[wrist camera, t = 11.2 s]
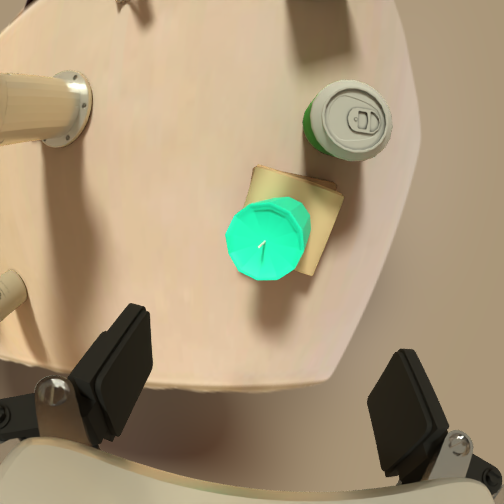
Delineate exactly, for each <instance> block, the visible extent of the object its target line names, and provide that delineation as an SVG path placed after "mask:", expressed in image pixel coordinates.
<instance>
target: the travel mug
mask: <svg viewBox="0 0 504 504" xmlns="http://www.w3.org/2000/svg"><path fill="white" fill-rule="evenodd" d="M26 298H27V292H26V288H25V285H24V283H23V281H22V279H21V278H20V276H19V275H18V274H17V273H16V272H15V271H13V270H8V271H7V272H5V273H4V274H2V275H1V276H0V322H1V321H2V320H3V319H4V318H5V317H6V316H8V315H9V314H10V313H11V312H12V311H14V310H15V309H16V308H17V307H18V306H20V305H21V304H22V303H23V302H24V301H25V300H26Z"/></svg>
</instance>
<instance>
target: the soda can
mask: <svg viewBox="0 0 504 504" xmlns="http://www.w3.org/2000/svg"><path fill="white" fill-rule="evenodd" d="M302 123H303V131H304V134H305V136H306V138H307V140H308V142H309V143H310V144H311V145H312V146H313V147H314V148H315V149H317V150H318V151H320V152H321V153H324V154H327V155H330V156H334V157H337V158H340V159H344V160H347V161H364V160H367V159H370V158H372V157H375V156H376V155H377V154H378V153H380V152H381V151H382V150H383V149H384V148H385V146H386V145H387V143H388V141H389V140H390V136H391V132H392V127H393V126H392V116H391V112H390V110H389V107H388V105H387V102H386V101H385V100H384V99H383V97H382V96H381V95H380V94H379V92H378V91H376V90H375V89H373V88H372V87H371V86H369V85H368V84H365V83H362V82H359V81H356V80H340V81H337V82H334V83H331V84H329V85H327V86H326V87H325V88H324V89H322V90H321V91H320V92H319V93H318V94H317V96H316V97H315V98H314V99H313V101H312V102H311V103H310V105H309V106H308V108H307V109H306V111H305V113H304V117H303V122H302Z"/></svg>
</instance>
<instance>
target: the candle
mask: <svg viewBox="0 0 504 504" xmlns="http://www.w3.org/2000/svg"><path fill="white" fill-rule="evenodd" d="M310 232H311V220H310V214H309V213H308V211H307V210H306V208H305V207H304V205H303V204H302V203H301V202H299V201H297V200H295V199H293V198H290V197H277V198H271V199H267V200H263V201H259V202H255V203H251V204H249V205H247V206H246V207H245V208H243V209H242V210H241V211H239V212H238V213H237V214H236V215H234V217H233V219H232V221H231V223H230V226H229V228H228V230H227V232H226V234H225V236H226V242H227V247H228V253H229V255H230V257H231V259H232V260H233V262H234V264H235V266H236V267H237V269H238V271H239V272H241V273H243V274H245V275H247V276H249V277H251V278H253V279H255V280H278V279H280V278H281V277H283V276H284V275H286V274H288V273H289V272H291V271H292V270H294V269H295V268H296V266H297V264H298V262H299V260H300V258H301V256H302V254H303V252H304V250H305V247H306V244H307V241H308V238H309V235H310Z"/></svg>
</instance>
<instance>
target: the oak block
mask: <svg viewBox="0 0 504 504" xmlns="http://www.w3.org/2000/svg"><path fill="white" fill-rule="evenodd" d="M277 197H290V198H293V199H295V200H297V201H299V202H301V203H302V204H303V205H304V207H305V208H306V210H307V211H308V213H309V214H310V220H311V232H310V235H309V238H308V241H307V244H306V247H305V250H304V252H303V254H302V256H301V258H300V260H299V262H298V264H297V266H296V268H295V269H294V271H297V272H301V273H304V274H307V275H310V276H313V274H314V271H315V269H316V267H317V264H318V262H319V259H320V257H321V255H322V252H323V250H324V247H325V245H326V243H327V240H328V238H329V235H330V233H331V230H332V228H333V225H334V223H335V220H336V218H337V215H338V212H339V210H340V207H341V205H342V202H343V199H344V196H343V195H342V194H341V193H340V192H338V191H335V190H333V189H330V188H327V187H324V186H322V185H319V184H316V183H313V182H311V181H308V180H305V179H302V178H299V177H296V176H293V175H290V174H287V173H284V172H281V171H278V170H275V169H272V168H269V167H266V166H262V165H259V164H258V165H257V166H256V168H255V172H254V175H253V178H252V181H251V185H250V188H249V191H248V194H247V198H246V201H245V204H244V208H245V207H246V206H247V205H249V204H251V203H255V202H259V201H263V200H267V199H271V198H277Z"/></svg>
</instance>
